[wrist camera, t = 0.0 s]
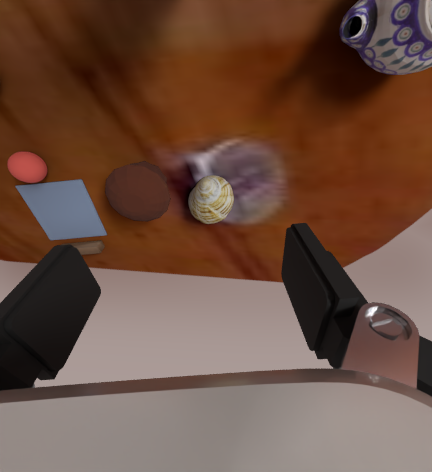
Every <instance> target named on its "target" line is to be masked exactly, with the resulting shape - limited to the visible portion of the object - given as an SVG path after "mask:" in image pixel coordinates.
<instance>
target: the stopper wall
mask: <svg viewBox="0 0 432 472" xmlns="http://www.w3.org/2000/svg"><path fill="white" fill-rule="evenodd" d="M68 244H70V245H72V246H74V247H76V248H77V249H78V250H79V252H80V254H81V255H84V254H95V253H101V252H102V250H103V248H104V244H103V242H102V240H100V241H89V242H78V243H67V244H62V245H68Z"/></svg>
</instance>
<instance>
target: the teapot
mask: <svg viewBox="0 0 432 472" xmlns="http://www.w3.org/2000/svg"><path fill="white" fill-rule="evenodd" d="M361 19H362V27H361ZM339 33H340V38H341V40H342V41H343V42H344V43H346V44H347V45H349V46H351V47H353V48H355V49H356V50H357V51H358V53H359V54H360V56H361V58H362V60H363V61H364V62H365V63H366V64H367V65H368V66H370V67H371V68H373V69H374V70H376V71H378V72H382V73H385V74H391V75H403V74H409V73H414V72H419V71H422V70H424V69H427V68H429V67H432V0H359V1H358V2H357V3H356V4H355V5H353V6H352V7H351V8H350V9H349V10H348V12H347V13H346V14H345V16H344V17H343V20H342V23H341V25H340V30H339Z"/></svg>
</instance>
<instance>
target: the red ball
mask: <svg viewBox="0 0 432 472" xmlns="http://www.w3.org/2000/svg"><path fill="white" fill-rule="evenodd" d="M8 169H9V171H10V173H11V174H12V175H13V176H14V177H15V178H17V179H18V180H20V181H23V182H27V183H36V182H39V181H41V180H43V179H44V178H45V177H46V175H47V166H46V163H45V162H44V161H43V159H42V158H40V157H39V156H38V155H36V154H34V153H31V152H25V151H22V152H17V153H14V154H13V155H12V156H10V158H9V160H8Z"/></svg>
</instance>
